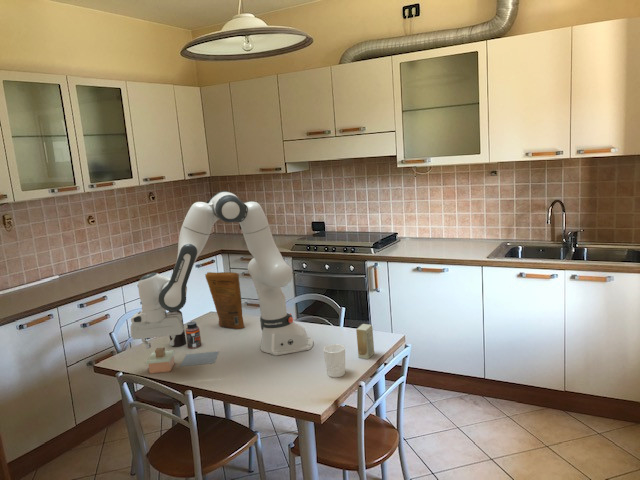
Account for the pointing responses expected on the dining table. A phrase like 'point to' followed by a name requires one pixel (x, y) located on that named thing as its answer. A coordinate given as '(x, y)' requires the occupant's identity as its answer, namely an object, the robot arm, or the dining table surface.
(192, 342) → the supplement bottle
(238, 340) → the dining table surface
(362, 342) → the skincare box
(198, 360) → the mat
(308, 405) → the dining table surface
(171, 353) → the lid
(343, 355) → the white cup
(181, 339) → the vinegar
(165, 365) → the peach storage bin
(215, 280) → the pancake mix bag
